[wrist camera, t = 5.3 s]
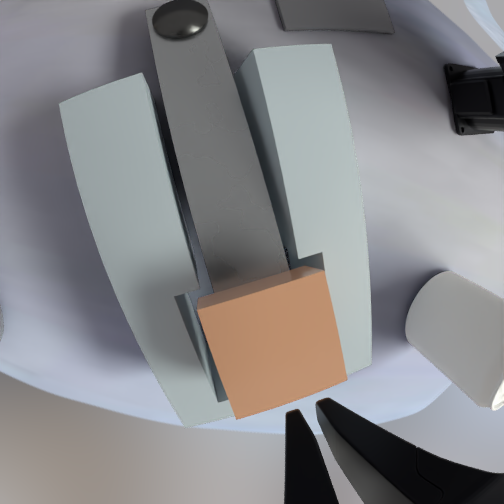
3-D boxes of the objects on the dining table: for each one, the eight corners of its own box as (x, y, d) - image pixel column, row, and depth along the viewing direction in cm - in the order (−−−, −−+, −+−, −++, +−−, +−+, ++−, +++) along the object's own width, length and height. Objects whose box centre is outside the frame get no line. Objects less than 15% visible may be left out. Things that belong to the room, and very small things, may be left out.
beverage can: (391, 307, 24) (488, 388, 13) (450, 251, 24) (552, 302, 13) (411, 357, 27) (484, 428, 16) (462, 307, 27) (541, 360, 16)
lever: (147, 20, 13) (144, 7, 12) (205, 7, 14) (206, -6, 12) (244, 384, 15) (247, 396, 14) (308, 362, 15) (316, 372, 14)
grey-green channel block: (95, 118, 15) (58, 103, 10) (288, 72, 17) (331, 43, 11) (180, 368, 21) (185, 428, 16) (331, 320, 23) (371, 364, 17)
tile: (304, 265, 14) (324, 270, 12) (327, 360, 14) (347, 379, 12) (197, 297, 13) (196, 310, 11) (230, 393, 14) (236, 419, 11)
